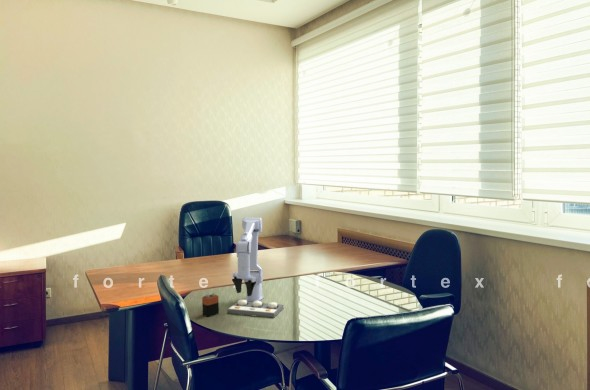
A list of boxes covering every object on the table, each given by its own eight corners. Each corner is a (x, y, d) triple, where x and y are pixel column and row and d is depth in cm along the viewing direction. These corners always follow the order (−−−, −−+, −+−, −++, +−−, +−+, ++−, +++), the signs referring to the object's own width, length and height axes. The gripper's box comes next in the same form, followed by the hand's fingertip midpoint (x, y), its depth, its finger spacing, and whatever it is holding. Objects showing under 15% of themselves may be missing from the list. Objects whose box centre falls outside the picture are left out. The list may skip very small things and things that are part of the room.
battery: (202, 315, 229) (201, 294, 229) (213, 312, 234) (213, 291, 233) (207, 317, 226) (207, 296, 226) (219, 314, 231) (218, 293, 230)
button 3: (269, 306, 238) (269, 301, 237) (278, 307, 236) (278, 302, 236) (266, 309, 233) (266, 304, 233) (275, 310, 232) (275, 305, 232)
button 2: (254, 305, 240) (254, 300, 240) (263, 306, 239) (263, 301, 238) (251, 307, 236) (251, 303, 235) (259, 308, 234) (259, 303, 234)
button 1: (240, 303, 242) (240, 299, 242) (248, 304, 241) (248, 300, 241) (236, 306, 238) (236, 301, 238) (244, 307, 237) (244, 302, 237)
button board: (239, 304, 245) (238, 300, 245) (283, 308, 239) (283, 304, 238) (227, 313, 232) (227, 308, 232) (274, 317, 225) (274, 312, 225)
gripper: (227, 265, 230) (227, 293, 231) (247, 270, 220) (248, 299, 221) (238, 262, 235) (239, 290, 236) (258, 267, 225) (259, 295, 226)
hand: (244, 294), depth 229 cm, fingers open, 7 cm apart
